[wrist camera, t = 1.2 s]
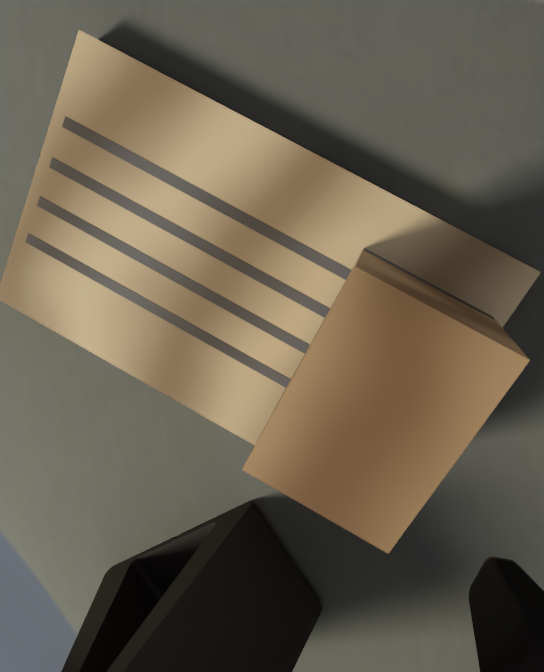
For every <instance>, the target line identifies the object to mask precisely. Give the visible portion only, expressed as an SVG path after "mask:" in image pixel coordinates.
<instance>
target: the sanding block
mask: <svg viewBox="0 0 544 672" xmlns="http://www.w3.org/2000/svg"><path fill="white" fill-rule="evenodd" d="M529 361H530V360H529V358H528V357H527V356H526V355H525V354H524V353H523V351H522V350H521V349H520V348H519V347H518V346H517V344H516V343H515V342H514V341H513V340H512V338H511V337H510V336H509V335H508V334H507V333H506V331H505V330H504V329H503V328H502V327H501V326H500V324H499V323H498V322H497V321H496V320H495V319H494V317H493V316H491V315H489V314H487V313H485V312H483V311H482V310H480V309H478V308H476V307H474V306H472V305H470V304H468V303H467V302H465V301H463V300H461V299H459V298H457V297H455V296H453V295H452V294H450V293H448V292H446V291H444V290H442V289H440V288H439V287H437V286H435V285H433V284H431V283H429V282H427V281H425V280H424V279H422V278H420V277H418V276H416V275H414V274H412V273H410V272H409V271H407V270H405V269H403V268H401V267H399V266H397V265H395V264H394V263H392V262H390V261H388V260H386V259H384V258H382V257H380V256H379V255H377V254H375V253H373V252H371V251H369V250H367V249H365V248H364V249H363V250H362V252H361V254H360V256H359V258H358V259H357V261H356V263H355V265H354V267H353V268H352V270H351V272H350V274H349V276H348V277H347V279H346V281H345V283H344V285H343V286H342V288H341V290H340V292H339V293H338V295H337V297H336V299H335V301H334V302H333V304H332V306H331V308H330V310H329V311H328V313H327V315H326V317H325V319H324V320H323V322H322V324H321V326H320V328H319V329H318V331H317V333H316V335H315V337H314V338H313V340H312V342H311V344H310V346H309V347H308V349H307V351H306V353H305V355H304V356H303V358H302V360H301V362H300V364H299V365H298V367H297V369H296V371H295V372H294V374H293V376H292V378H291V380H290V381H289V383H288V385H287V387H286V389H285V390H284V392H283V394H282V396H281V398H280V399H279V401H278V403H277V405H276V407H275V408H274V410H273V412H272V414H271V416H270V418H269V420H268V422H267V424H266V425H265V427H264V429H263V431H262V433H261V435H260V437H259V439H258V441H257V442H256V444H255V446H254V448H253V450H252V452H251V454H250V456H249V458H248V459H247V461H246V463H245V465H244V467H243V469H242V470H243V471H245V472H247V473H248V474H250V475H252V476H254V477H255V478H257V479H259V480H261V481H262V482H264V483H266V484H268V485H269V486H271V487H273V488H275V489H276V490H278V491H280V492H281V493H283V494H285V495H287V496H288V497H290V498H292V499H294V500H295V501H297V502H299V503H301V504H302V505H304V506H306V507H308V508H309V509H311V510H313V511H315V512H316V513H318V514H320V515H322V516H323V517H325V518H327V519H328V520H330V521H332V522H334V523H335V524H337V525H339V526H341V527H342V528H344V529H346V530H348V531H349V532H351V533H353V534H355V535H356V536H358V537H360V538H362V539H363V540H365V541H367V542H369V543H370V544H372V545H374V546H375V547H377V548H379V549H381V550H382V551H384V552H386V553H388V554H389V552H390V551H391V550H392V548H393V547H394V545H395V544H396V543H397V541H398V540H399V539H400V537H401V536H402V535H403V533H404V532H405V530H406V529H407V528H408V526H409V525H410V524H411V522H412V521H413V520H414V518H415V517H416V515H417V514H418V513H419V511H420V510H421V509H422V507H423V506H424V504H425V503H426V502H427V500H428V499H429V498H430V496H431V495H432V494H433V492H434V491H435V489H436V488H437V487H438V485H439V484H440V483H441V481H442V480H443V479H444V477H445V476H446V474H447V473H448V472H449V470H450V469H451V468H452V466H453V465H454V464H455V462H456V461H457V459H458V458H459V457H460V455H461V454H462V453H463V451H464V450H465V449H466V447H467V446H468V444H469V443H470V442H471V440H472V439H473V438H474V436H475V435H476V433H477V432H478V431H479V429H480V428H481V427H482V425H483V424H484V423H485V421H486V420H487V418H488V417H489V416H490V414H491V413H492V412H493V410H494V409H495V408H496V406H497V405H498V403H499V402H500V401H501V399H502V398H503V397H504V395H505V394H506V393H507V391H508V390H509V388H510V387H511V386H512V384H513V383H514V382H515V380H516V379H517V378H518V376H519V375H520V373H521V372H522V371H523V369H524V368H525V367H526V365H527V364H528V362H529Z"/></svg>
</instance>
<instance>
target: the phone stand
mask: <svg viewBox="0 0 544 672" xmlns="http://www.w3.org/2000/svg"><path fill="white" fill-rule="evenodd" d="M321 611H322V605H321V604H320V602H319V601H318V599H317V598H316V596H315V595H314V593H313V592H312V590H311V589H310V587H309V586H308V584H307V583H306V581H305V580H304V579H303V577H302V576H301V574H300V573H299V571H298V570H297V568H296V567H295V565H294V564H293V562H292V561H291V559H290V558H289V556H288V555H287V553H286V552H285V550H284V549H283V547H282V546H281V544H280V543H279V542H278V540H277V539H276V537H275V536H274V534H273V533H272V531H271V530H270V528H269V527H268V525H267V524H266V522H265V521H264V519H263V518H262V516H261V515H260V513H259V512H258V510H257V509H256V507H255V506H254V504H253V503H252V502H251V501H249V502H246V503H244V504H242V505H240V506H238V507H236V508H234V509H232V510H230V511H227V512H225V513H223V514H221V515H219V516H217V517H215V518H213V519H211V520H209V521H207V522H204V523H202V524H200V525H198V526H196V527H194V528H192V529H190V530H188V531H186V532H184V533H181V534H180V535H179V536H178V537H177V538H175V537H173V538H171V539H169V540H167V541H165V542H163V543H161V544H158V545H156V546H154V547H152V548H150V549H148V550H146V551H144V552H142V553H140V554H137V555H135V556H133V557H131V558H129V559H127V560H125V561H123V562H121V563H119V564H117V565H114V566H113V567H111V568H110V569H109V570H108V571H107V572H106V574H105V576H104V578H103V580H102V582H101V585H100V587H99V589H98V591H97V593H96V596H95V598H94V600H93V602H92V605H91V607H90V609H89V611H88V613H87V616H86V618H85V620H84V622H83V625H82V627H81V629H80V631H79V633H78V636H77V638H76V640H75V643H74V645H73V647H72V649H71V651H70V653H69V656H68V658H67V660H66V662H65V665H64V667H63V669H62V671H61V672H292V671H293V669H294V667H295V665H296V662H297V660H298V658H299V656H300V654H301V652H302V650H303V648H304V646H305V644H306V642H307V640H308V638H309V636H310V634H311V632H312V630H313V628H314V626H315V624H316V621H317V619H318V617H319V615H320V613H321Z"/></svg>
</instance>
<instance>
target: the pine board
mask: <svg viewBox="0 0 544 672" xmlns="http://www.w3.org/2000/svg"><path fill="white" fill-rule="evenodd" d="M364 248H365V249H367V250H369V251H371V252H373V253H375V254H377V255H379V256H380V257H382V258H384V259H386V260H388V261H390V262H392V263H394V264H395V265H397V266H399V267H401V268H403V269H405V270H407V271H409V272H410V273H412V274H414V275H416V276H418V277H420V278H422V279H424V280H425V281H427V282H429V283H431V284H433V285H435V286H437V287H439V288H440V289H442V290H444V291H446V292H448V293H450V294H452V295H453V296H455V297H457V298H459V299H461V300H463V301H465V302H467V303H468V304H470V305H472V306H474V307H476V308H478V309H480V310H482V311H483V312H485V313H487V314H489V315H491V316H493V317H494V319H495V320H496V321H497V322H498V323H499V324H500V326H501V327H502V328H503V326H504V325H505V323H506V322H507V321H508V319H509V318H510V316H511V315H512V313H513V312H514V311H515V309H516V308H517V306H518V305H519V303H520V302H521V300H522V299H523V298H524V296H525V295H526V293H527V292H528V290H529V289H530V287H531V286H532V285H533V283H534V282H535V280H536V279H537V277H538V276H539V274H540V273H541V272H540V271H538V270H536V269H534V268H532V267H530V266H528V265H526V264H524V263H523V262H521V261H519V260H517V259H515V258H513V257H511V256H509V255H507V254H505V253H503V252H502V251H500V250H498V249H496V248H494V247H492V246H490V245H488V244H486V243H484V242H482V241H481V240H479V239H477V238H475V237H473V236H471V235H469V234H467V233H465V232H463V231H462V230H460V229H458V228H456V227H454V226H452V225H450V224H448V223H446V222H444V221H442V220H441V219H439V218H437V217H435V216H433V215H431V214H429V213H427V212H425V211H423V210H421V209H420V208H418V207H416V206H414V205H412V204H410V203H408V202H406V201H404V200H402V199H401V198H399V197H397V196H395V195H393V194H391V193H389V192H387V191H385V190H383V189H381V188H380V187H378V186H376V185H374V184H372V183H370V182H368V181H366V180H364V179H362V178H360V177H359V176H357V175H355V174H353V173H351V172H349V171H347V170H345V169H343V168H341V167H340V166H338V165H336V164H334V163H332V162H330V161H328V160H326V159H324V158H322V157H320V156H319V155H317V154H315V153H313V152H311V151H309V150H307V149H305V148H303V147H301V146H299V145H298V144H296V143H294V142H292V141H290V140H288V139H286V138H284V137H282V136H280V135H279V134H277V133H275V132H273V131H271V130H269V129H267V128H265V127H263V126H261V125H259V124H258V123H256V122H254V121H252V120H250V119H248V118H246V117H244V116H242V115H240V114H238V113H237V112H235V111H233V110H231V109H229V108H227V107H225V106H223V105H221V104H219V103H218V102H216V101H214V100H212V99H210V98H208V97H206V96H204V95H202V94H200V93H198V92H197V91H195V90H193V89H191V88H189V87H187V86H185V85H183V84H181V83H179V82H177V81H176V80H174V79H172V78H170V77H168V76H166V75H164V74H162V73H160V72H158V71H157V70H155V69H153V68H151V67H149V66H147V65H145V64H143V63H141V62H139V61H137V60H136V59H134V58H132V57H130V56H128V55H126V54H124V53H122V52H120V51H118V50H116V49H115V48H113V47H111V46H109V45H107V44H105V43H103V42H101V41H99V40H97V39H96V38H94V37H92V36H90V35H88V34H86V33H84V32H82V31H80V30H79V31H78V34H77V38H76V41H75V44H74V47H73V51H72V54H71V57H70V60H69V64H68V67H67V70H66V73H65V77H64V80H63V83H62V86H61V89H60V93H59V96H58V99H57V102H56V106H55V109H54V112H53V115H52V119H51V122H50V125H49V128H48V132H47V135H46V138H45V141H44V145H43V148H42V151H41V154H40V158H39V161H38V164H37V167H36V170H35V174H34V177H33V180H32V183H31V187H30V190H29V193H28V196H27V200H26V203H25V206H24V209H23V213H22V216H21V219H20V222H19V226H18V229H17V232H16V235H15V239H14V242H13V245H12V248H11V252H10V255H9V258H8V261H7V264H6V268H5V271H4V274H3V277H2V281H1V284H0V301H2V302H4V303H6V304H7V305H9V306H11V307H13V308H14V309H16V310H18V311H20V312H21V313H23V314H25V315H27V316H28V317H30V318H32V319H34V320H36V321H37V322H39V323H41V324H43V325H44V326H46V327H48V328H50V329H51V330H53V331H55V332H57V333H58V334H60V335H62V336H64V337H65V338H67V339H69V340H71V341H72V342H74V343H76V344H78V345H79V346H81V347H83V348H85V349H86V350H88V351H90V352H92V353H93V354H95V355H97V356H99V357H100V358H102V359H104V360H106V361H107V362H109V363H111V364H113V365H114V366H116V367H118V368H120V369H121V370H123V371H125V372H127V373H129V374H130V375H132V376H134V377H136V378H137V379H139V380H141V381H143V382H144V383H146V384H148V385H150V386H151V387H153V388H155V389H157V390H158V391H160V392H162V393H164V394H165V395H167V396H169V397H171V398H172V399H174V400H176V401H178V402H179V403H181V404H183V405H185V406H186V407H188V408H190V409H192V410H193V411H195V412H197V413H199V414H200V415H202V416H204V417H206V418H207V419H209V420H211V421H213V422H214V423H216V424H218V425H220V426H222V427H223V428H225V429H227V430H229V431H230V432H232V433H234V434H236V435H237V436H239V437H241V438H243V439H244V440H246V441H248V442H250V443H251V444H253V445H255V444H256V442H257V441H258V439H259V437H260V435H261V433H262V431H263V429H264V427H265V425H266V424H267V422H268V420H269V418H270V416H271V414H272V412H273V410H274V408H275V407H276V405H277V403H278V401H279V399H280V398H281V396H282V394H283V392H284V390H285V389H286V387H287V385H288V383H289V381H290V380H291V378H292V376H293V374H294V372H295V371H296V369H297V367H298V365H299V364H300V362H301V360H302V358H303V356H304V355H305V353H306V351H307V349H308V347H309V346H310V344H311V342H312V340H313V338H314V337H315V335H316V333H317V331H318V329H319V328H320V326H321V324H322V322H323V320H324V319H325V317H326V315H327V313H328V311H329V310H330V308H331V306H332V304H333V302H334V301H335V299H336V297H337V295H338V293H339V292H340V290H341V288H342V286H343V285H344V283H345V281H346V279H347V277H348V276H349V274H350V272H351V270H352V268H353V267H354V265H355V263H356V261H357V259H358V258H359V256H360V254H361V252H362V250H363V249H364Z"/></svg>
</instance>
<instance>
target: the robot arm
mask: <svg viewBox="0 0 544 672" xmlns="http://www.w3.org/2000/svg"><path fill="white" fill-rule="evenodd" d="M469 603H470V610H471V616H472V622H473V629H474V635H475V641H476V648H477V654H478V661H479V667H480V672H544V591H543V590H542V589H541V588H540V587H539V586H538V585H537V584H536V583H535V582H534V581H533V580H532V579H531V578H530V577H529V575H528V574H527V573H526V572H525V571H524V570H523V569H522V568H521V567H520V566H519V565H518V564H516V563H515V562H514V561H512V560H510V559H504V558H498V557H489V558H487V559H486V560H485V562H484V563H483V565H482V567H481V569H480V571H479V572H478V574H477V576H476V578H475V579H474V581H473V583H472V585H471V587H470V591H469Z"/></svg>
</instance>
